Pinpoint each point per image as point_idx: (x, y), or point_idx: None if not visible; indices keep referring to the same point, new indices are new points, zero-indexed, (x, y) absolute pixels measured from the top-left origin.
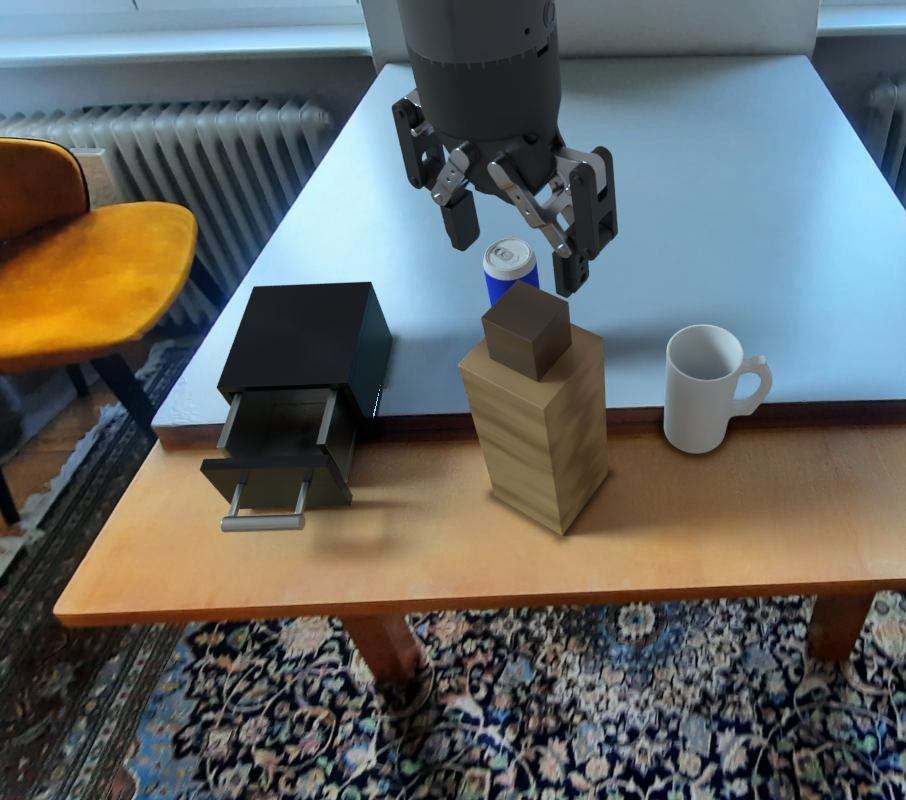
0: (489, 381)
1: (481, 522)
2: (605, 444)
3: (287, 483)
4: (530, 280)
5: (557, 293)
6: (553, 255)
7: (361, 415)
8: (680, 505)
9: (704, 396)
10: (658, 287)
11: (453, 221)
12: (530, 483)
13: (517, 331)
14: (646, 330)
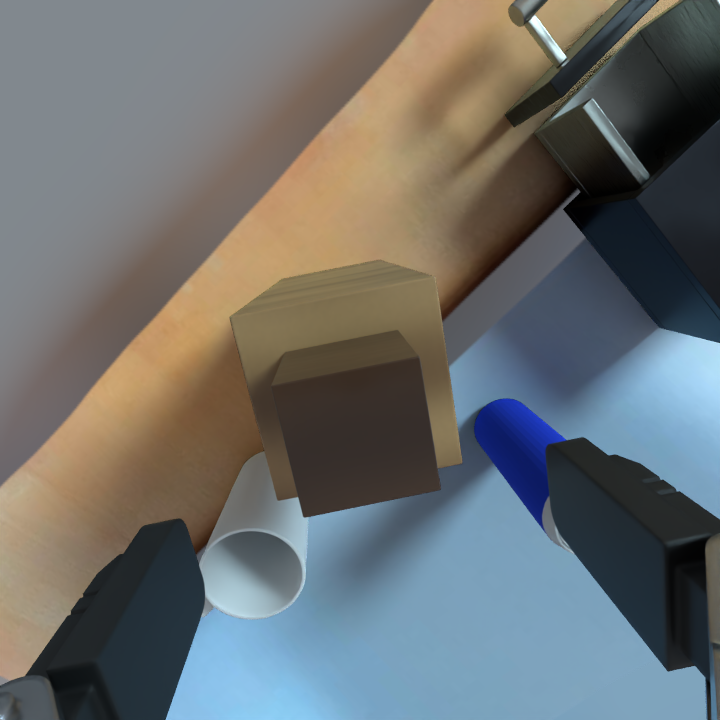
0: (357, 291)
1: (365, 223)
2: None
3: (583, 41)
4: (534, 507)
5: (168, 521)
6: (93, 653)
7: (591, 203)
8: (215, 399)
9: (221, 521)
10: (446, 598)
11: (624, 508)
12: (312, 278)
13: (321, 385)
14: (412, 544)
